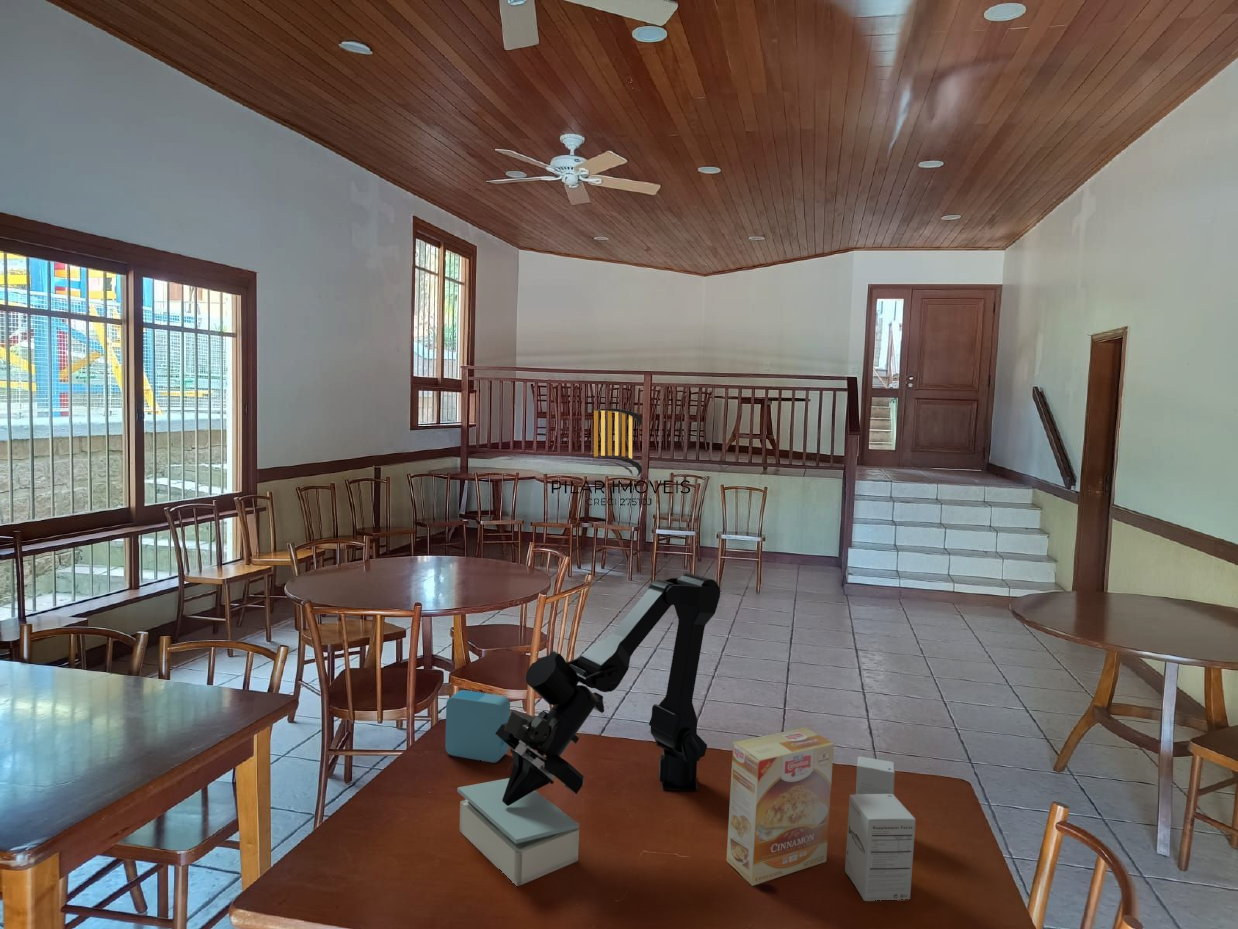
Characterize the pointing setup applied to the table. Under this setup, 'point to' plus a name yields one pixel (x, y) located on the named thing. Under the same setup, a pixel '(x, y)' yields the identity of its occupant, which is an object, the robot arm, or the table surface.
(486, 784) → the box lid
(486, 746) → the blue rounded square block
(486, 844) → the cream box
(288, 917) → the table surface
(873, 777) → the skincare box
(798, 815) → the coffeecake box
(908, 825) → the supplement box
